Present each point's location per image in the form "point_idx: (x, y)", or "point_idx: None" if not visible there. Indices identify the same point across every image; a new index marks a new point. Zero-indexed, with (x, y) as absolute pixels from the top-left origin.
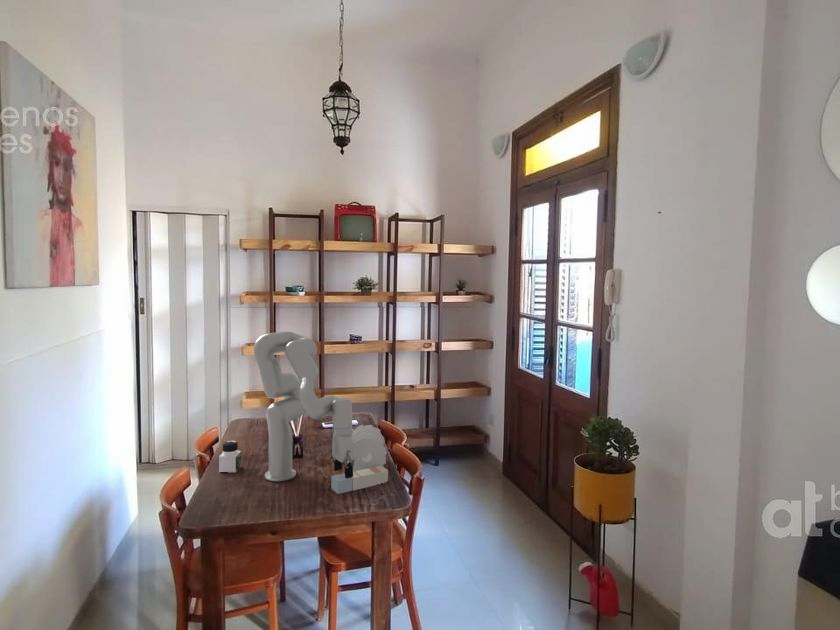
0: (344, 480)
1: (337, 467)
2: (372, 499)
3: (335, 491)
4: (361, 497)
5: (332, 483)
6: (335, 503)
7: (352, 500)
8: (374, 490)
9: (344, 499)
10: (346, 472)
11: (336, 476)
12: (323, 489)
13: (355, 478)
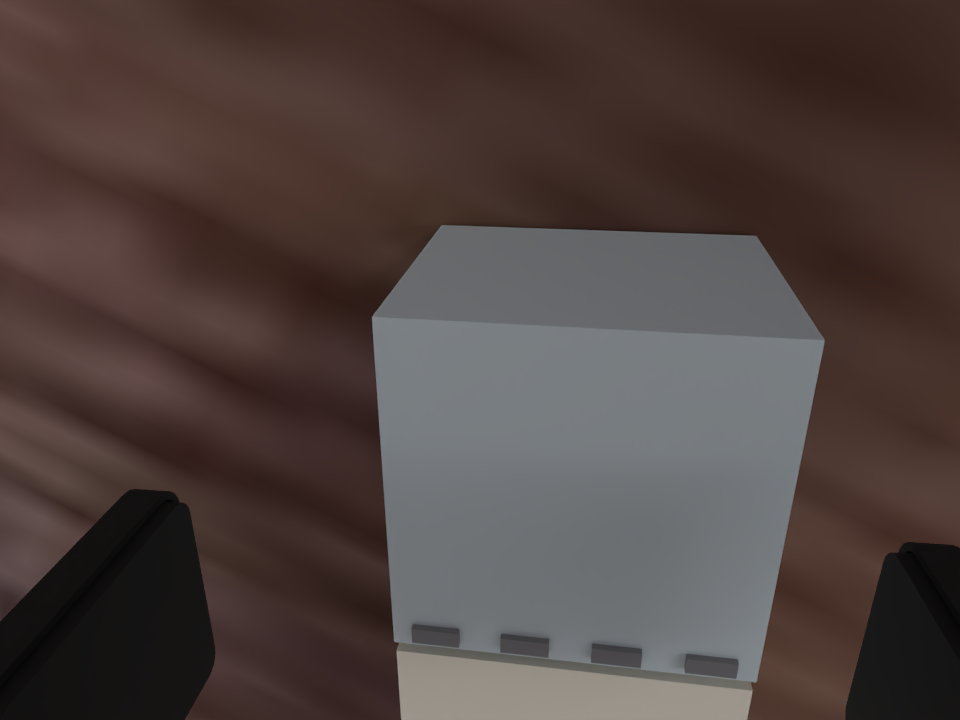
0: (389, 477)
1: (907, 677)
2: (56, 546)
3: (545, 232)
4: (167, 471)
5: (712, 273)
6: (92, 7)
7: (113, 318)
8: (311, 697)
9: (194, 229)
10: (39, 627)
11: (702, 437)
12: (846, 75)
13: (403, 685)
